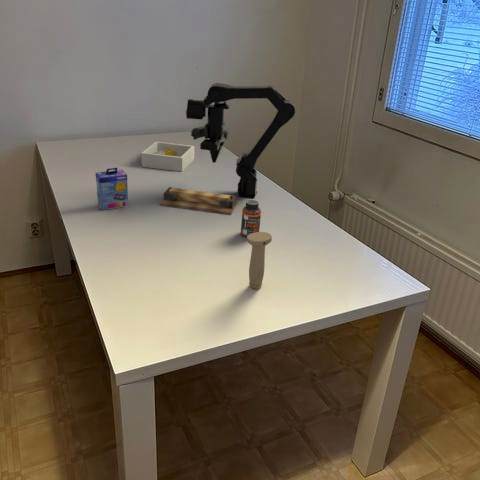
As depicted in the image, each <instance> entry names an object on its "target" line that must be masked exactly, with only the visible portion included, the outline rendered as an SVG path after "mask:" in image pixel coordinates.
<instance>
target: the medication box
mask: <svg viewBox="0 0 480 480" xmlns="http://www.w3.org/2000/svg"><path fill="white" fill-rule="evenodd" d="M152 154H160V155H168V156H174V154H175V150H173V149H167V150H163V151H159V152H155V153H152Z"/></svg>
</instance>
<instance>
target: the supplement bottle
mask: <svg viewBox="0 0 480 480" xmlns="http://www.w3.org/2000/svg"><path fill="white" fill-rule="evenodd" d="M259 205H260V202H259V201H258V200H255V199H249V200H246V202H245V206H243V208H242V211H241V223H240V225H241V226H240V235H242V236H243V237H245V238H247V236H248V235H249V234H251V233H255V232H260V225H261V217H262V216H261V215H262V210H261V208H260V207H259Z"/></svg>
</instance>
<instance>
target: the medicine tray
mask: <svg viewBox="0 0 480 480" xmlns="http://www.w3.org/2000/svg"><path fill="white" fill-rule="evenodd" d="M167 149H173V150H175V154H174V156H168V155H160V154H152V153H155V152H159V151H163V150H167ZM140 155H141V167H142V168H148V169H149V168H151V169H158V170H166V171H175V172H184V170H186V168H188V166H190V164H191V163H192V162H193V161H194V160H195V145H187V144H180V143H170V142H162V141H155V142H153V144H151V145H150V146H148V147H147V148H146V149H145V150H143V151H142V152H141V153H140Z"/></svg>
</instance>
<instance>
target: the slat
mask: <svg viewBox="0 0 480 480" xmlns="http://www.w3.org/2000/svg"><path fill="white" fill-rule="evenodd" d="M177 188H178V187H172V188H171V189H170V190H169V193H175V194H177V199H178V200H185V201H193V202H200V203H208V204H215V205H220V199H221V200H229V201H230V197H231V195H232V194H227V195H224V194H223V193H222V194H221V193H215V192H208V191H207V192H206V191H201V190H200V191H198V190H194V189H193V190H192V189H183V188H180V189H177Z"/></svg>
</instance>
